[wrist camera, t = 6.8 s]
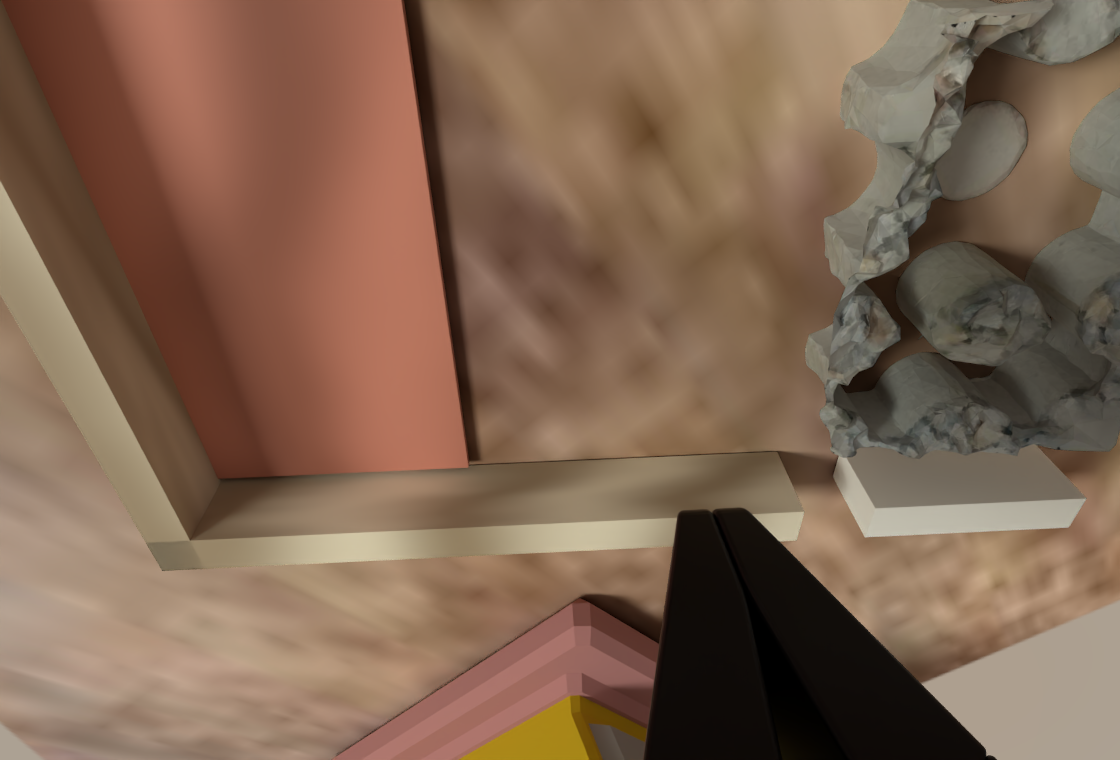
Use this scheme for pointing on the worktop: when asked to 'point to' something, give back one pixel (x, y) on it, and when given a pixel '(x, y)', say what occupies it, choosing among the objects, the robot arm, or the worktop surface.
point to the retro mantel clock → (535, 699)
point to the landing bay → (955, 492)
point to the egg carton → (973, 249)
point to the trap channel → (276, 295)
